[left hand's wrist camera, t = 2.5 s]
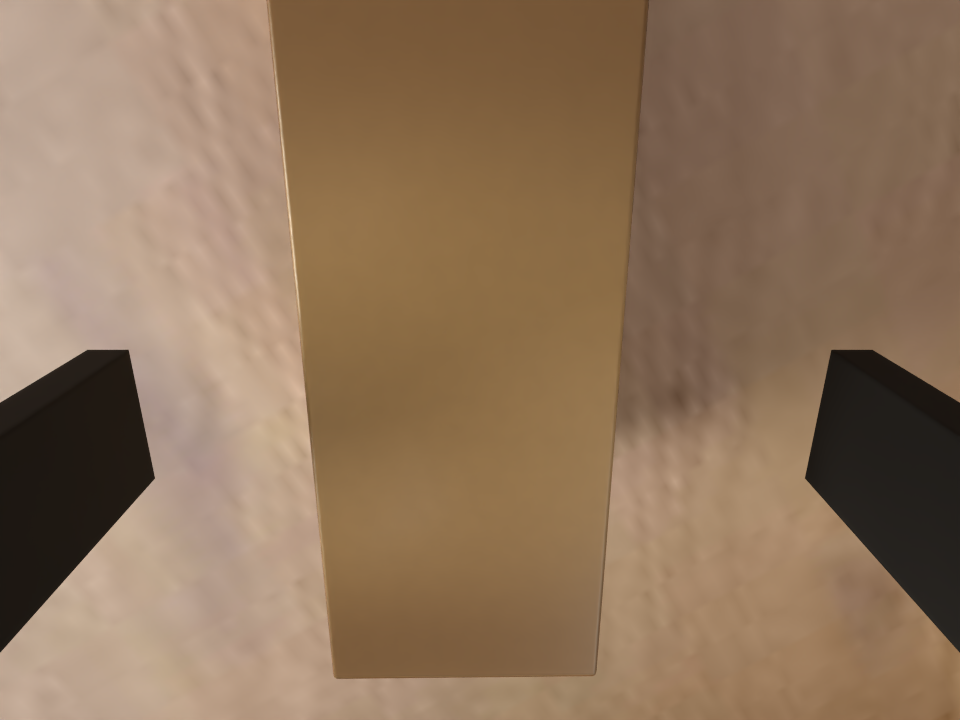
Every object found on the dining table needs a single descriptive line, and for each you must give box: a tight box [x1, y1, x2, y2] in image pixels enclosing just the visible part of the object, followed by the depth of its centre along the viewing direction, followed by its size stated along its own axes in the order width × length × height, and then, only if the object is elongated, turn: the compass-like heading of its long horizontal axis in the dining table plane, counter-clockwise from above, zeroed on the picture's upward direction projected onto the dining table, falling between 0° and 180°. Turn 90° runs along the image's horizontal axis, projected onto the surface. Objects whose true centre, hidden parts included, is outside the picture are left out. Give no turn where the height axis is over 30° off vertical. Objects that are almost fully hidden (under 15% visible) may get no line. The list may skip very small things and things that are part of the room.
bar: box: [267, 0, 649, 679], centre depth 12 cm, size 23×5×9 cm, turn 0°
